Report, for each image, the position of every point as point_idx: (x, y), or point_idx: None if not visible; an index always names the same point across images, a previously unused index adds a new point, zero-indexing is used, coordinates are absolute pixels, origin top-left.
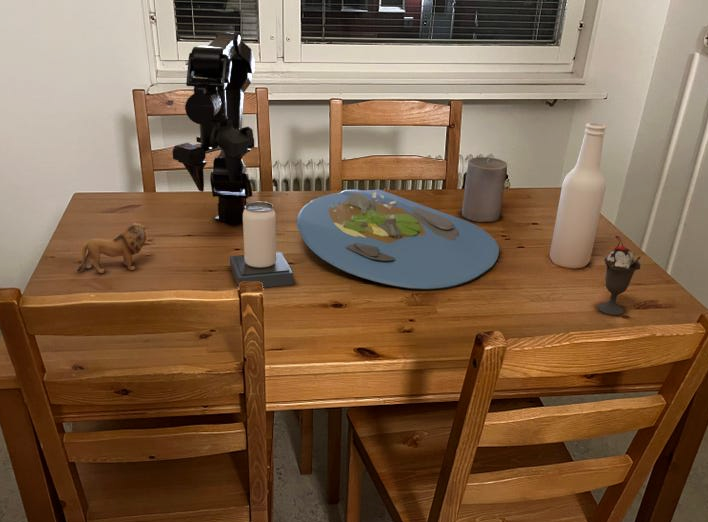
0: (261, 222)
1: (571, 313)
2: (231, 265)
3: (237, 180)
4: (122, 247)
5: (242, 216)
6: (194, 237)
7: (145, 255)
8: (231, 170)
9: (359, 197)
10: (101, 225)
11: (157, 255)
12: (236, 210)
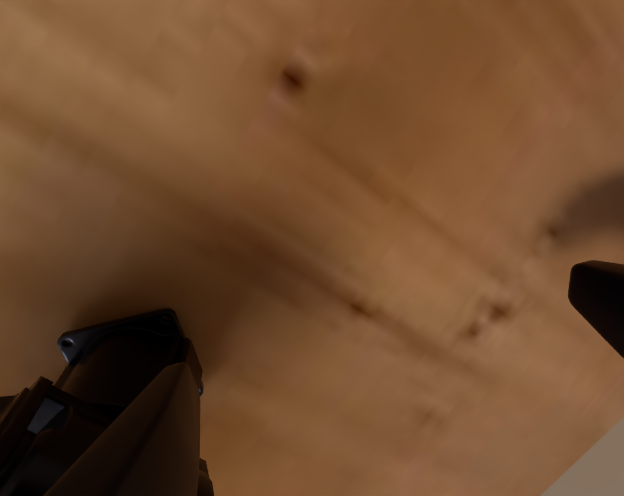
0: None
1: None
2: None
3: (58, 473)
4: None
5: (105, 340)
6: (354, 286)
7: (556, 238)
8: (163, 493)
9: None
10: (488, 471)
11: (535, 217)
12: (127, 358)
